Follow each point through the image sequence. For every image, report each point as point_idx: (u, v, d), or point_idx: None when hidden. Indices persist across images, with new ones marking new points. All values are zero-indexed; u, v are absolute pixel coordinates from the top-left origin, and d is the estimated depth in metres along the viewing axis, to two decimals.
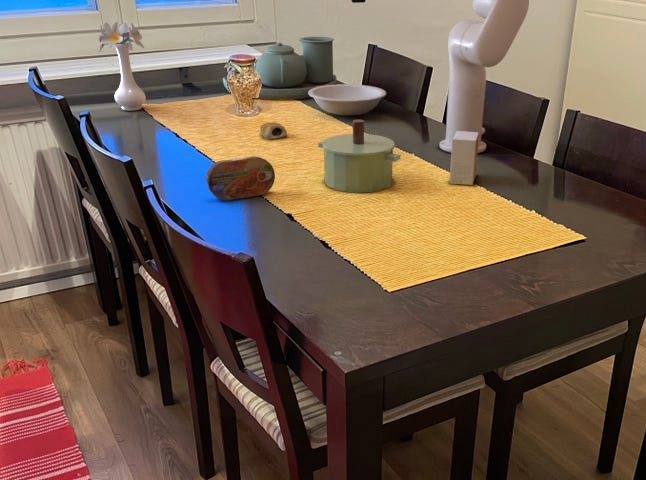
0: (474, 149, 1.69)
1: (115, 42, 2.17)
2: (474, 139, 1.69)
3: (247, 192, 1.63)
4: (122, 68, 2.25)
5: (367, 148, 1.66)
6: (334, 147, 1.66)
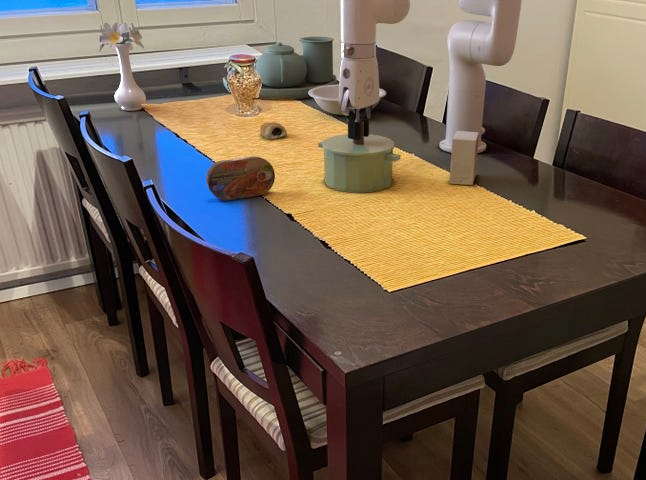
0: (474, 149, 1.69)
1: (115, 42, 2.17)
2: (474, 139, 1.69)
3: (247, 192, 1.63)
4: (122, 68, 2.25)
5: (367, 148, 1.66)
6: (334, 147, 1.66)
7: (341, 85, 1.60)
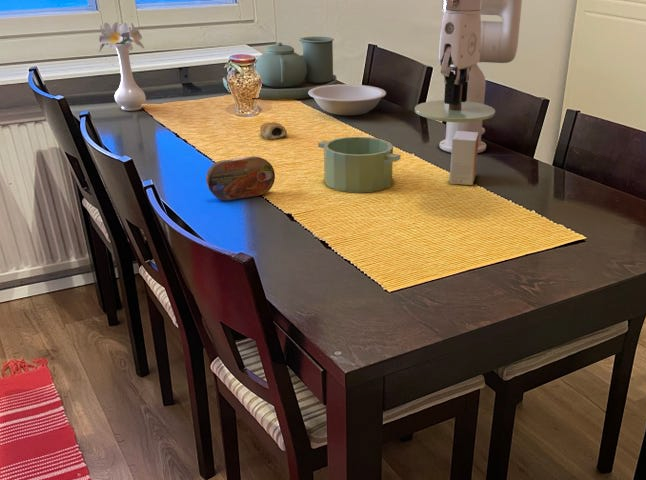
0: (474, 149, 1.69)
1: (115, 42, 2.17)
2: (474, 139, 1.69)
3: (247, 192, 1.63)
4: (122, 68, 2.25)
5: (467, 114, 1.49)
6: (430, 113, 1.49)
7: (442, 42, 1.43)
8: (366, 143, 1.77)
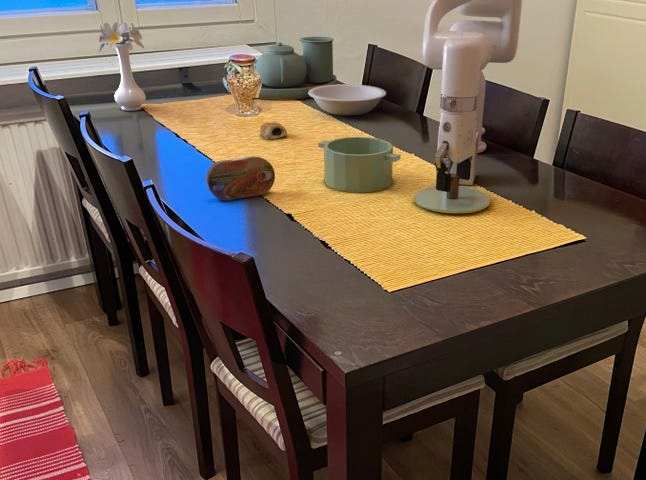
0: None
1: (115, 42, 2.17)
2: None
3: (247, 192, 1.63)
4: (122, 68, 2.25)
5: (463, 204, 1.59)
6: (429, 203, 1.59)
7: (440, 139, 1.52)
8: (366, 143, 1.77)
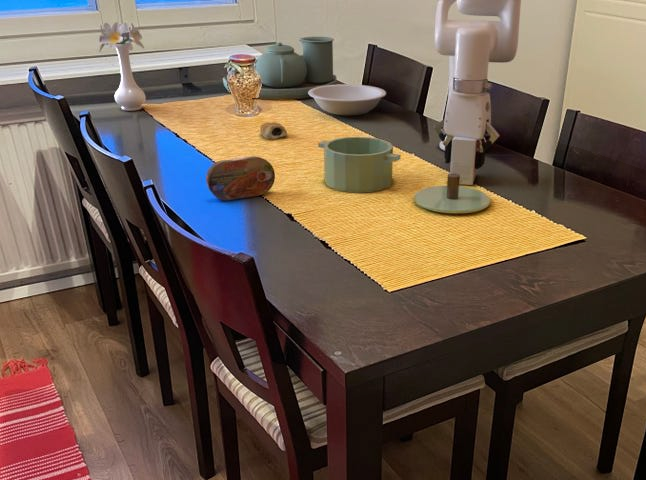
0: (474, 149, 1.69)
1: (115, 42, 2.17)
2: (474, 139, 1.69)
3: (247, 192, 1.63)
4: (122, 68, 2.25)
5: (463, 204, 1.59)
6: (429, 203, 1.59)
7: (484, 119, 1.66)
8: (366, 143, 1.77)
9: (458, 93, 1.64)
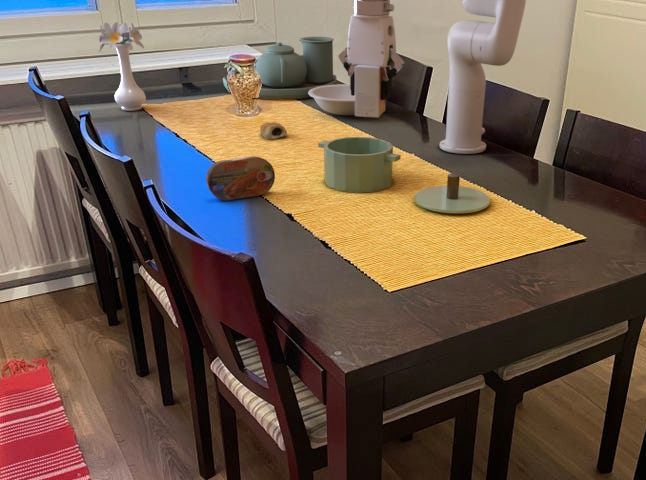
0: (378, 77, 1.59)
1: (115, 42, 2.17)
2: (378, 67, 1.58)
3: (247, 192, 1.63)
4: (122, 68, 2.25)
5: (463, 204, 1.59)
6: (429, 203, 1.59)
7: (387, 44, 1.56)
8: (366, 143, 1.77)
9: (358, 15, 1.54)
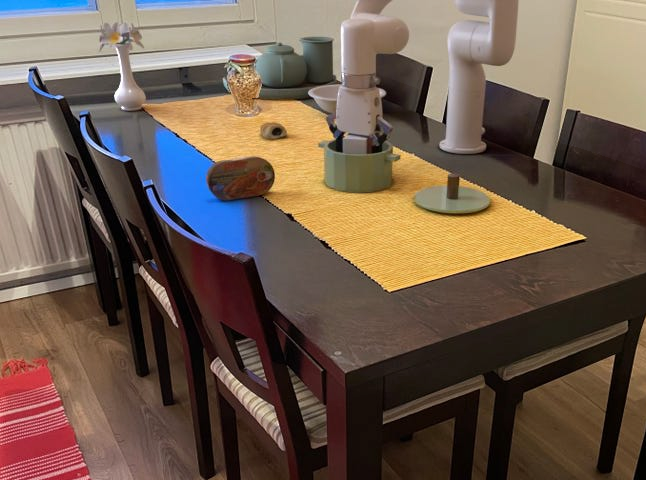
0: (365, 148, 1.66)
1: (115, 42, 2.17)
2: (365, 138, 1.66)
3: (247, 192, 1.63)
4: (122, 68, 2.25)
5: (463, 204, 1.59)
6: (429, 203, 1.59)
7: (374, 114, 1.63)
8: None
9: (345, 88, 1.61)
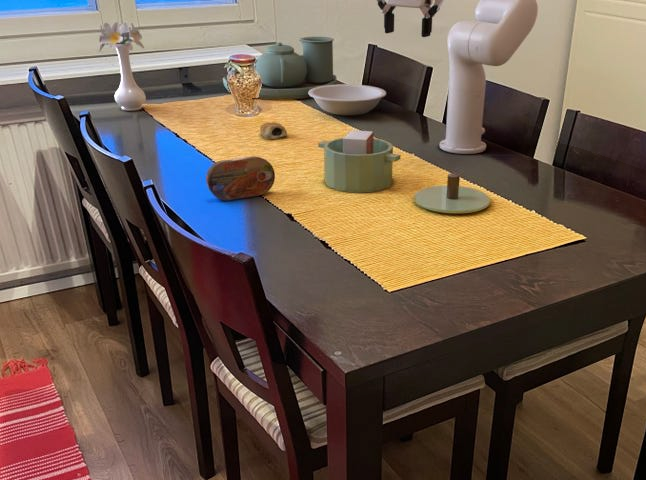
0: (365, 148, 1.66)
1: (115, 42, 2.17)
2: (365, 138, 1.66)
3: (247, 192, 1.63)
4: (122, 68, 2.25)
5: (463, 204, 1.59)
6: (429, 203, 1.59)
7: None
8: None
9: None
